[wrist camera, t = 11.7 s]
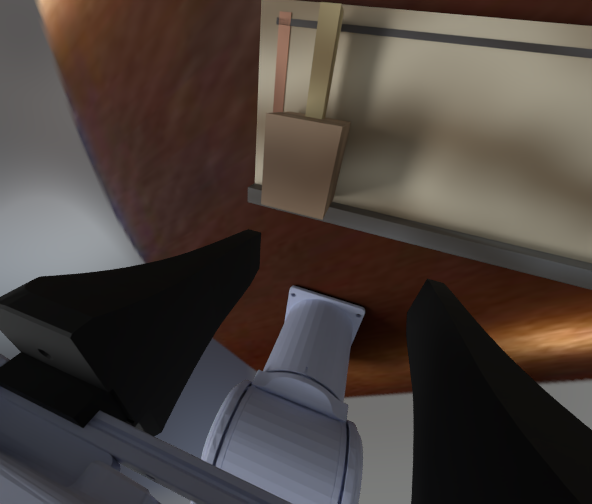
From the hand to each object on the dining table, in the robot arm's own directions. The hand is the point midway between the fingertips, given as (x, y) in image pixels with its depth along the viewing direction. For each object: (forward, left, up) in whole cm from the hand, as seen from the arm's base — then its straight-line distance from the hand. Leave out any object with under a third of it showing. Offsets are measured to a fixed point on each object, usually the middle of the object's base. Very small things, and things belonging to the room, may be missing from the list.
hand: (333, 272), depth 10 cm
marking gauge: (+5, +4, -9) cm, 11 cm away
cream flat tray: (+4, -6, -10) cm, 13 cm away
